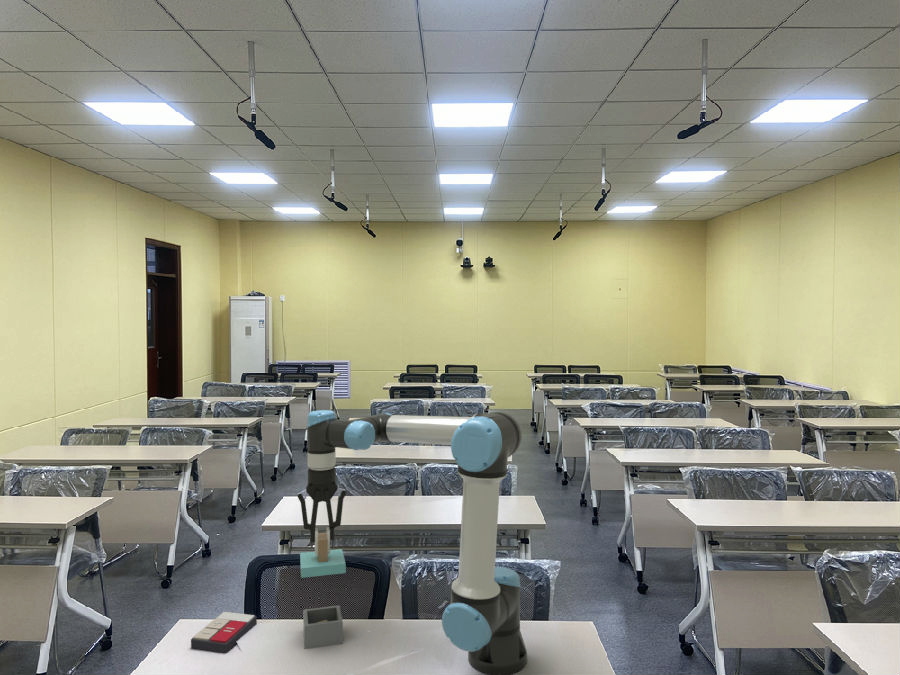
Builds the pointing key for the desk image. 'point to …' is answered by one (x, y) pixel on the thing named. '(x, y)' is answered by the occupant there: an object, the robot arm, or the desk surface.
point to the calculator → (223, 632)
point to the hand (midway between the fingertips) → (322, 552)
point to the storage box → (322, 627)
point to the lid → (322, 560)
